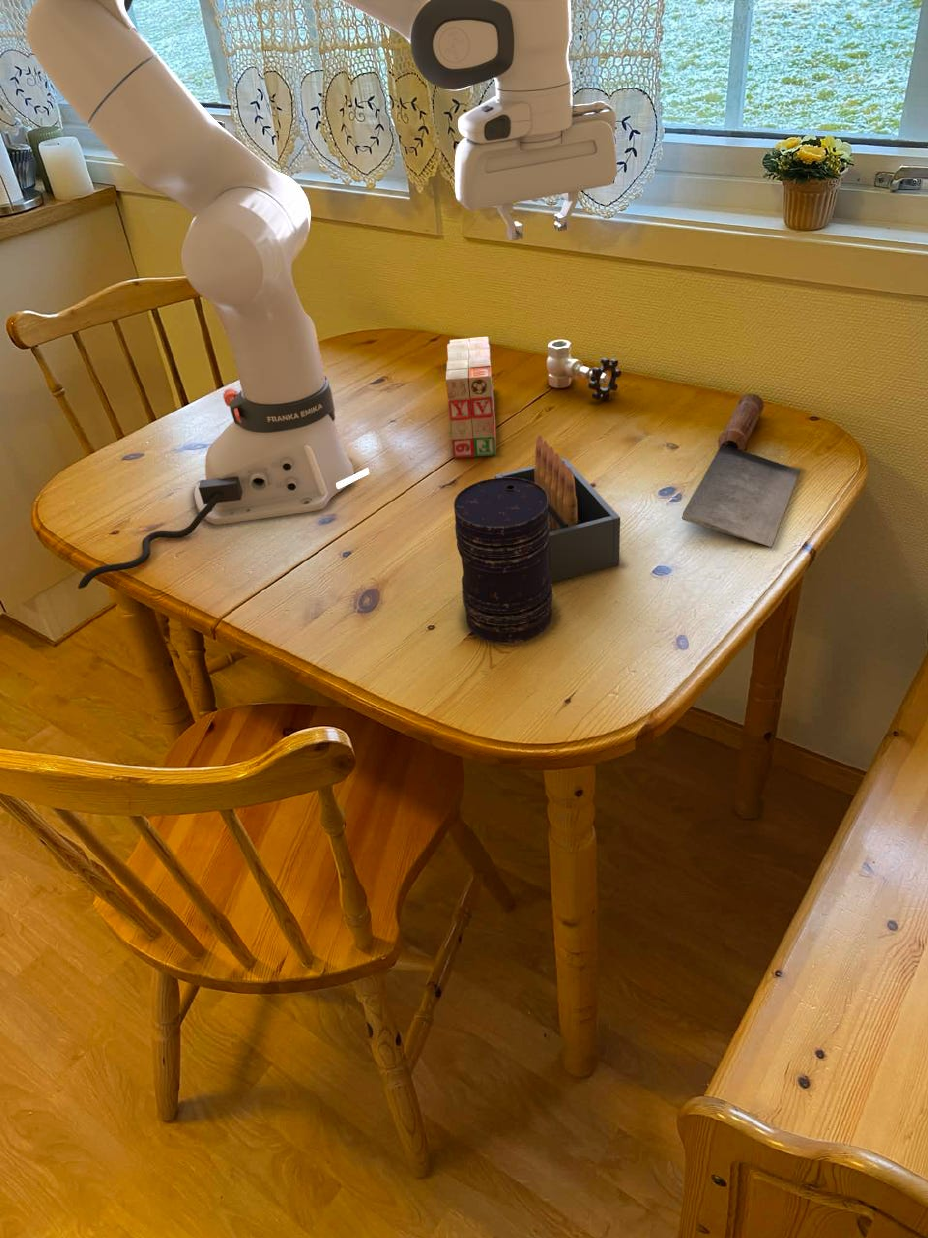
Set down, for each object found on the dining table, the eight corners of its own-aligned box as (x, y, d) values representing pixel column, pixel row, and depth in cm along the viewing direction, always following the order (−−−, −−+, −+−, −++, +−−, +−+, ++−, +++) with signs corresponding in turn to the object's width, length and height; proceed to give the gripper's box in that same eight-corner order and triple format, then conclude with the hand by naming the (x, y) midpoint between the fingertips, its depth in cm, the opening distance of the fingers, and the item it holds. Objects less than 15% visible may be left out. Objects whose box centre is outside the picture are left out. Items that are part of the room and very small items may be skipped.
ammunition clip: (533, 518, 118) (529, 433, 110) (546, 514, 118) (543, 429, 111) (567, 562, 109) (565, 473, 102) (581, 558, 110) (580, 469, 102)
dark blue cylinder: (535, 652, 98) (530, 534, 89) (451, 635, 102) (437, 520, 92) (564, 597, 105) (562, 483, 96) (484, 583, 109) (474, 471, 99)
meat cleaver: (772, 547, 109) (777, 518, 107) (678, 531, 114) (680, 503, 111) (817, 423, 133) (821, 396, 130) (737, 413, 137) (740, 388, 134)
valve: (536, 386, 149) (593, 407, 142) (535, 347, 145) (593, 366, 138) (564, 373, 152) (621, 392, 145) (564, 334, 148) (622, 352, 141)
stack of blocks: (454, 394, 150) (447, 319, 142) (493, 391, 149) (488, 316, 142) (453, 459, 133) (445, 378, 125) (496, 455, 132) (491, 374, 125)
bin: (544, 585, 107) (542, 538, 103) (497, 519, 119) (494, 474, 115) (619, 564, 109) (620, 517, 105) (566, 502, 121) (565, 457, 117)
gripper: (603, 94, 113) (603, 213, 121) (445, 120, 109) (455, 242, 117) (627, 102, 108) (624, 225, 117) (462, 129, 104) (472, 255, 113)
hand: (538, 234), depth 117 cm, fingers open, 5 cm apart
